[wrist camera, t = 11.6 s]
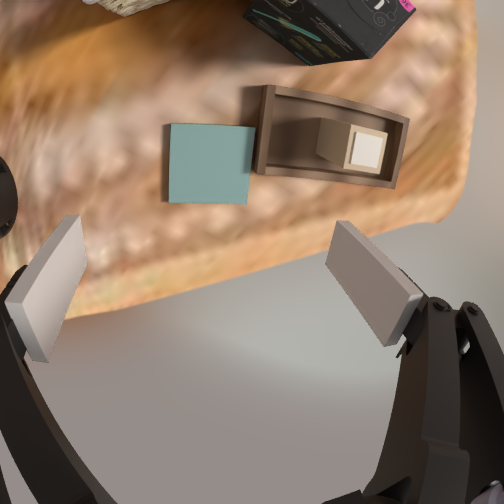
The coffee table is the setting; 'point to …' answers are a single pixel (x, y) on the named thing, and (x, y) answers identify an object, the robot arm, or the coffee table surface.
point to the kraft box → (351, 145)
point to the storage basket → (126, 5)
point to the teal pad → (210, 163)
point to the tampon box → (330, 26)
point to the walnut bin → (306, 136)
